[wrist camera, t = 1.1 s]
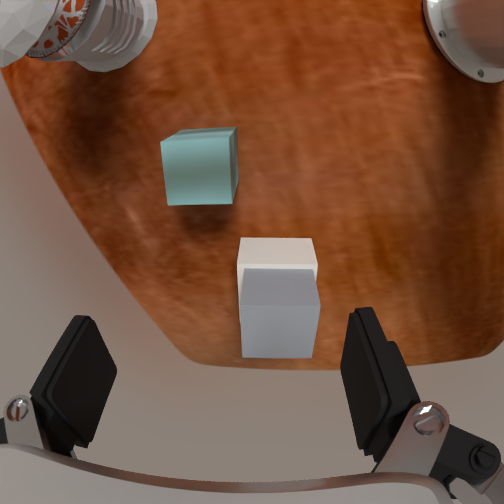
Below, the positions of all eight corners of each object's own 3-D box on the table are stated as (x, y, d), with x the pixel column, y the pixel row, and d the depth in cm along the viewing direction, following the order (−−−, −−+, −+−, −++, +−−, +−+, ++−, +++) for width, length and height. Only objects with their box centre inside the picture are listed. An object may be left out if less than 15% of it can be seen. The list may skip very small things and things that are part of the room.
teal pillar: (181, 130, 26) (160, 142, 21) (236, 127, 26) (228, 137, 21) (185, 181, 29) (167, 205, 23) (238, 180, 28) (231, 203, 23)
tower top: (244, 268, 27) (239, 304, 23) (313, 269, 27) (320, 305, 23) (245, 319, 30) (242, 357, 26) (306, 319, 30) (311, 358, 26)
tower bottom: (241, 237, 31) (236, 263, 27) (310, 237, 31) (317, 264, 27) (243, 292, 35) (240, 323, 31) (305, 293, 35) (310, 323, 30)
